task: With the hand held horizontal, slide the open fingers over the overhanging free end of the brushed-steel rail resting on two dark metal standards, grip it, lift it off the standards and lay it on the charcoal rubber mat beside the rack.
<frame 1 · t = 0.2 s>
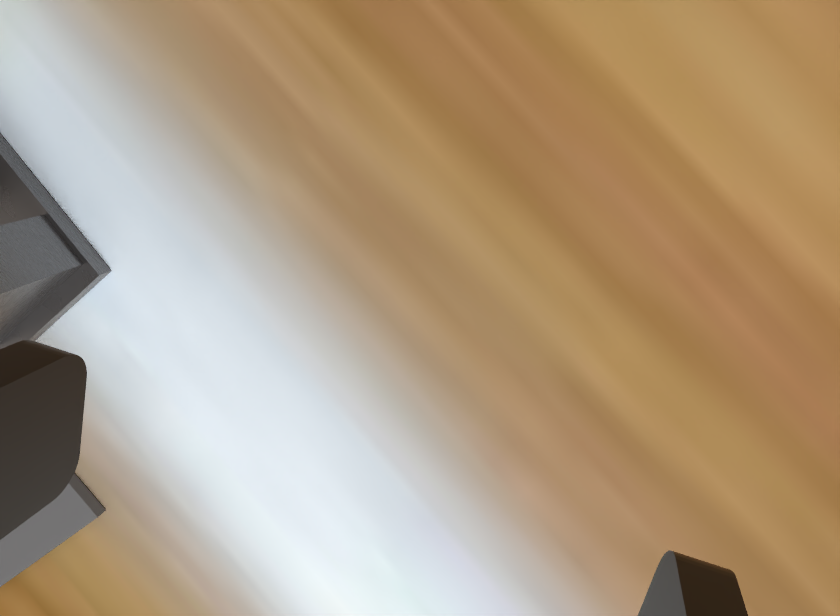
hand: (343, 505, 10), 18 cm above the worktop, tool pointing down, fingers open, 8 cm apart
rack: (25, 269, 31), on the worktop
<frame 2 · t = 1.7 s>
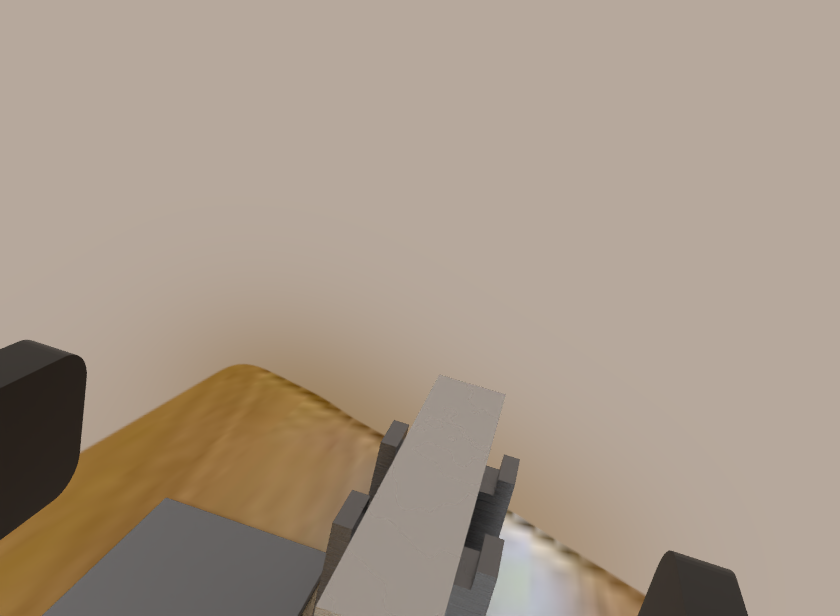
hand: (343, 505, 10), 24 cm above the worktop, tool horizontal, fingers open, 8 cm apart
rail: (418, 542, 30), point 11 cm above the worktop, touching rack
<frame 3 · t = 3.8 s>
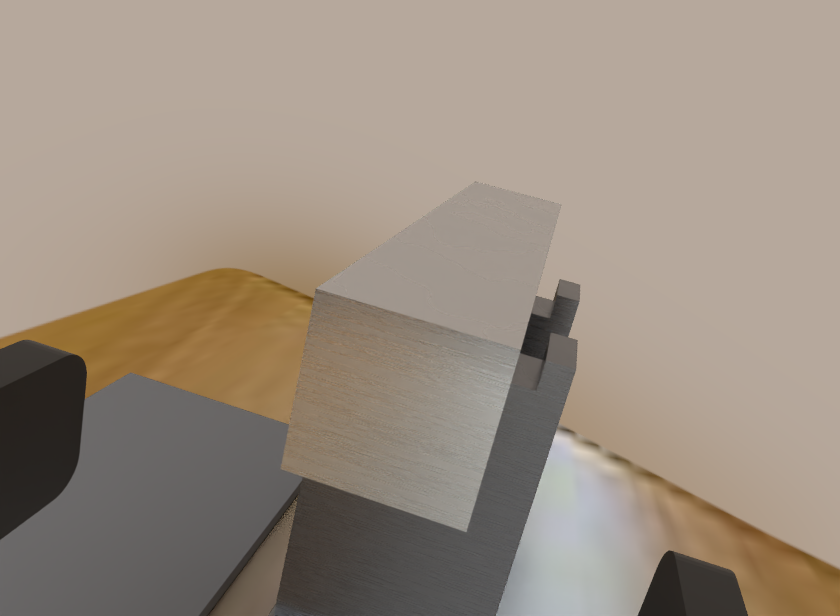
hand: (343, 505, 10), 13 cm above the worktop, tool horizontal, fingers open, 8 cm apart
mat: (92, 532, 26), on the worktop
rail: (457, 343, 21), point 11 cm above the worktop, touching rack
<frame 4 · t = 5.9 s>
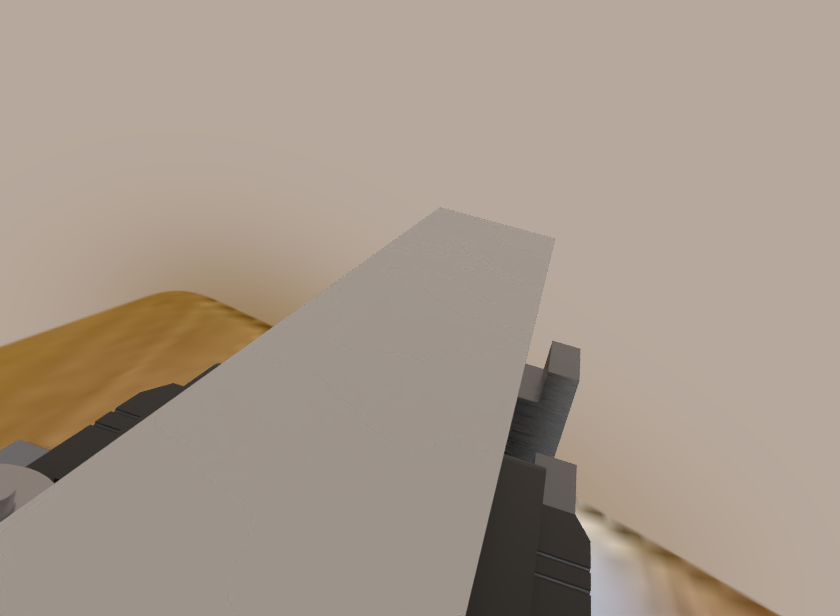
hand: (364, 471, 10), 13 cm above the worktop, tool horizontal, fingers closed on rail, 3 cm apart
rail: (395, 470, 14), point 11 cm above the worktop, touching gripper, rack
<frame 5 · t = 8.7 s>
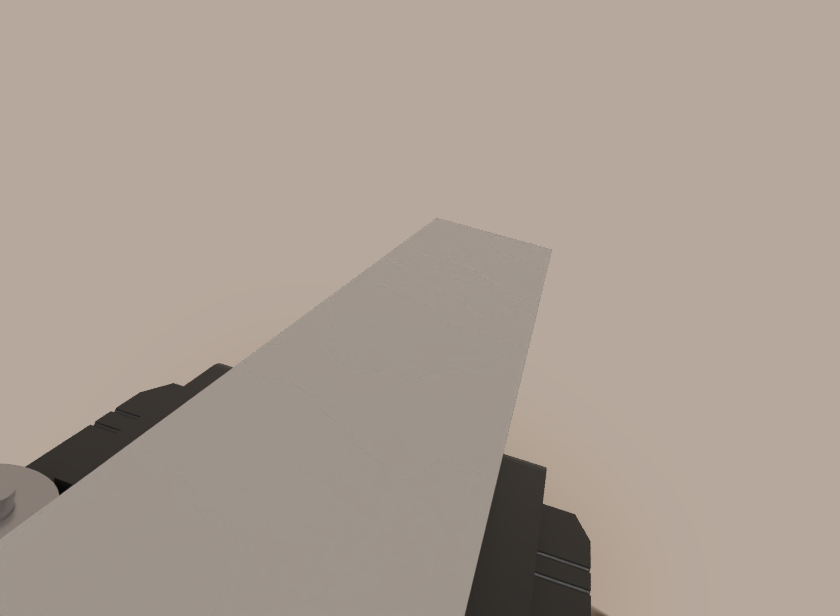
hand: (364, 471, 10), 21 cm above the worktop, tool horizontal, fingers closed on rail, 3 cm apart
rail: (390, 485, 14), point 19 cm above the worktop, touching gripper
when the fingers open (6 cm above the worktop, at t = 11.8 s): rail drops 2 cm, resting on mat.
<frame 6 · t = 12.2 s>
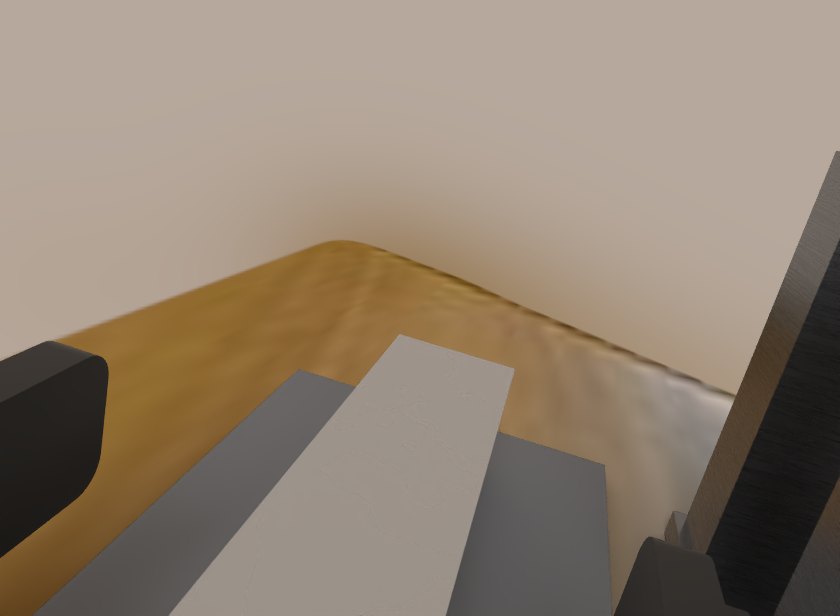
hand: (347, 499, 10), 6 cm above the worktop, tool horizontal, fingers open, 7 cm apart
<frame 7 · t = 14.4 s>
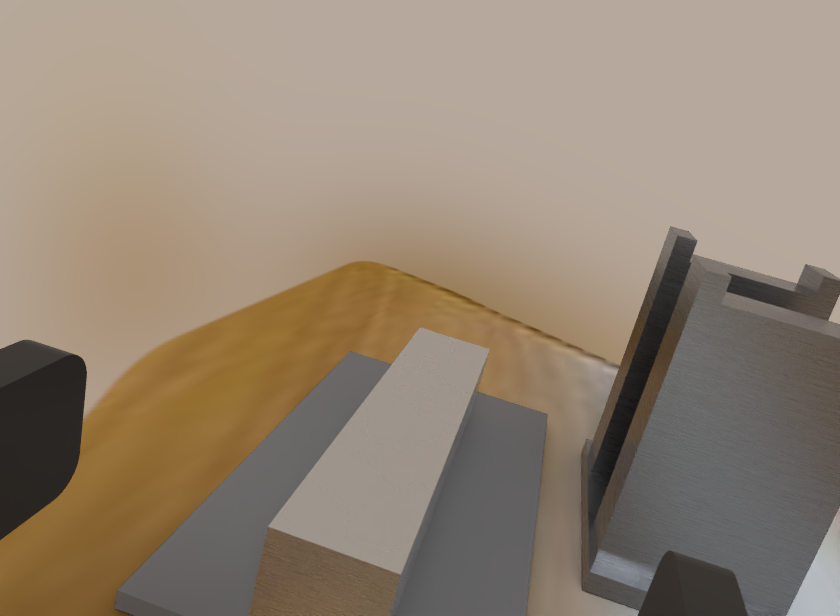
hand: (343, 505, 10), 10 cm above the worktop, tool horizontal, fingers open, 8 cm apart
mat: (397, 487, 29), on the worktop
rack: (672, 581, 28), on the worktop
rail: (391, 492, 27), point 1 cm above the worktop, touching mat
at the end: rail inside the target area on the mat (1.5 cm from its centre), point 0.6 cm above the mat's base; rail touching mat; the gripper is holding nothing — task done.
